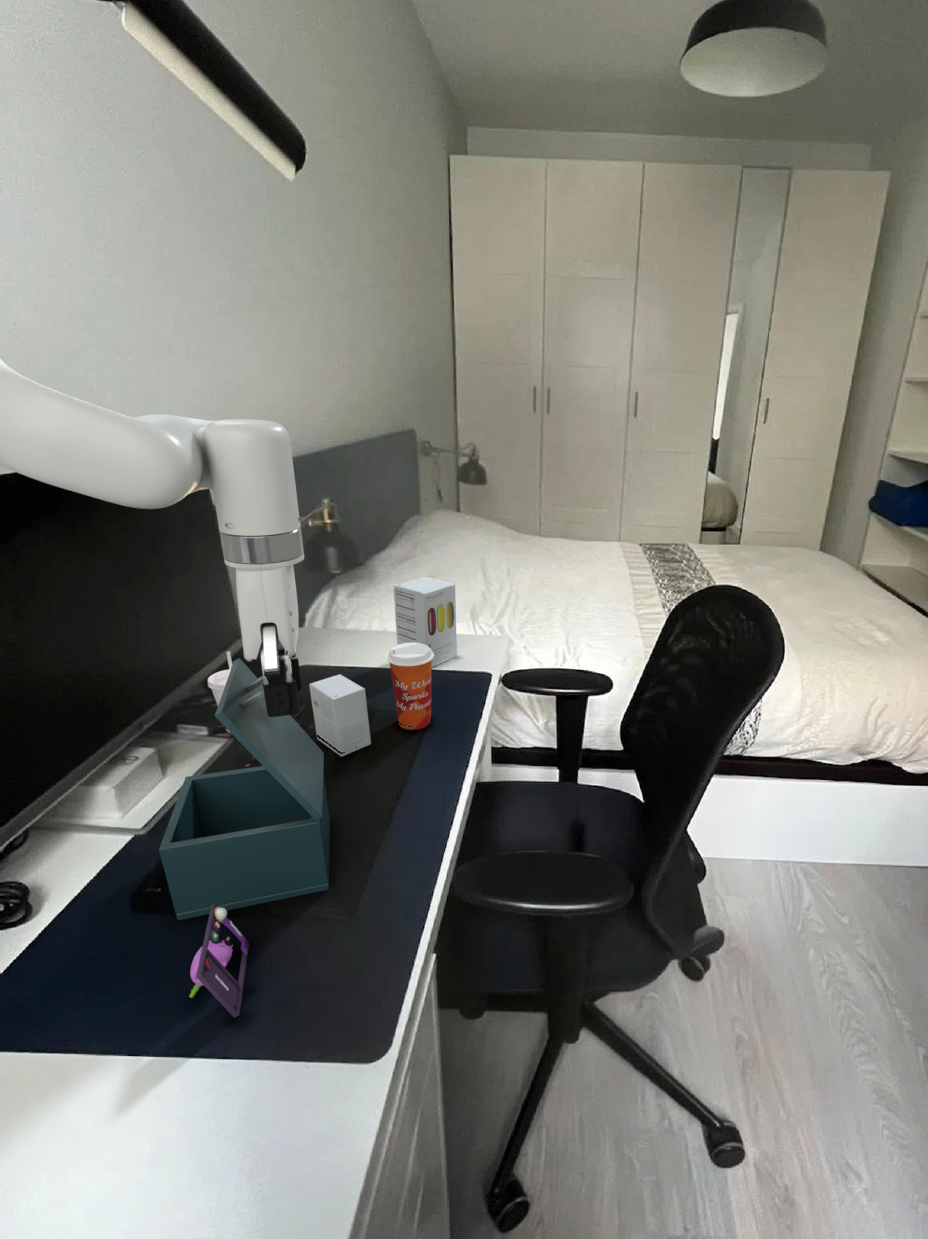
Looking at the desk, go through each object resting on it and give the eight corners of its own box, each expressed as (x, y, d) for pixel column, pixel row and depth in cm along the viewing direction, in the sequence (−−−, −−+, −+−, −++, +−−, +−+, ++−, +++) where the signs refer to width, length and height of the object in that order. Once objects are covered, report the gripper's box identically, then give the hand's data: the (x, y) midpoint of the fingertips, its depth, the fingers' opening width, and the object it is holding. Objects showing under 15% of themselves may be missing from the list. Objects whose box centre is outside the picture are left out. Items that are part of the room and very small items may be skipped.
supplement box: (427, 670, 132) (423, 594, 126) (396, 659, 137) (391, 585, 130) (458, 656, 140) (456, 583, 133) (428, 646, 144) (424, 575, 138)
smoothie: (261, 730, 107) (249, 655, 102) (219, 740, 104) (204, 663, 99) (255, 714, 112) (242, 642, 107) (214, 723, 109) (199, 649, 104)
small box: (371, 745, 104) (366, 688, 100) (340, 758, 101) (333, 699, 97) (346, 727, 109) (340, 673, 105) (316, 739, 105) (308, 683, 101)
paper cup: (396, 736, 107) (390, 661, 102) (389, 715, 114) (383, 644, 109) (441, 728, 110) (438, 655, 105) (432, 708, 117) (428, 638, 112)
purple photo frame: (208, 970, 57) (222, 898, 64) (149, 999, 56) (170, 923, 63) (247, 1013, 60) (256, 939, 67) (191, 1041, 59) (207, 963, 67)
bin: (177, 921, 70) (158, 849, 66) (200, 840, 82) (185, 776, 78) (329, 890, 75) (319, 822, 71) (329, 818, 87) (321, 757, 83)
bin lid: (214, 716, 63) (261, 688, 63) (233, 661, 75) (273, 638, 75) (316, 820, 71) (357, 795, 71) (318, 756, 83) (354, 734, 83)
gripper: (234, 529, 71) (257, 674, 78) (208, 570, 56) (239, 745, 63) (305, 527, 73) (322, 668, 80) (298, 566, 59) (319, 735, 65)
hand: (285, 701), depth 72 cm, fingers closed on bin lid, 5 cm apart
